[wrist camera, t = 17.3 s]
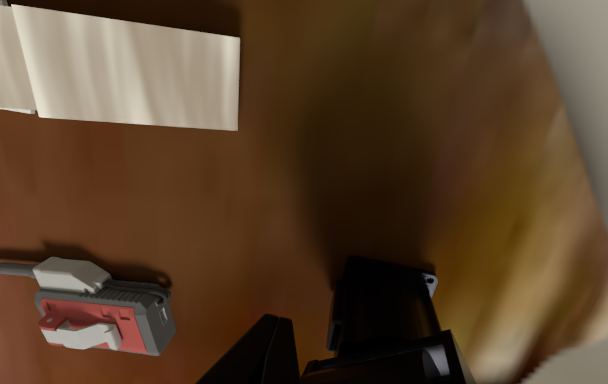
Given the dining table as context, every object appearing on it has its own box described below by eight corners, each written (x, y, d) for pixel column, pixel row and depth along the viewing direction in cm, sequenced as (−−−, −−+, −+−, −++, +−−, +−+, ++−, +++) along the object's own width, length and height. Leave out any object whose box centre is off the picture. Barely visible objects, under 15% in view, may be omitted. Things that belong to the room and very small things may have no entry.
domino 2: (240, 37, 15) (10, 4, 13) (237, 130, 17) (39, 117, 15) (239, 39, 17) (34, 9, 15) (236, 124, 19) (57, 110, 17)
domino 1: (157, 28, 16) (-80, -7, 13) (164, 119, 18) (-41, 104, 15) (163, 30, 18) (-47, -1, 15) (169, 114, 20) (-16, 99, 17)
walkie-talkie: (171, 262, 25) (-11, 248, 29) (137, 298, 21) (-71, 277, 25) (191, 335, 29) (25, 315, 32) (164, 378, 25) (-22, 350, 28)
